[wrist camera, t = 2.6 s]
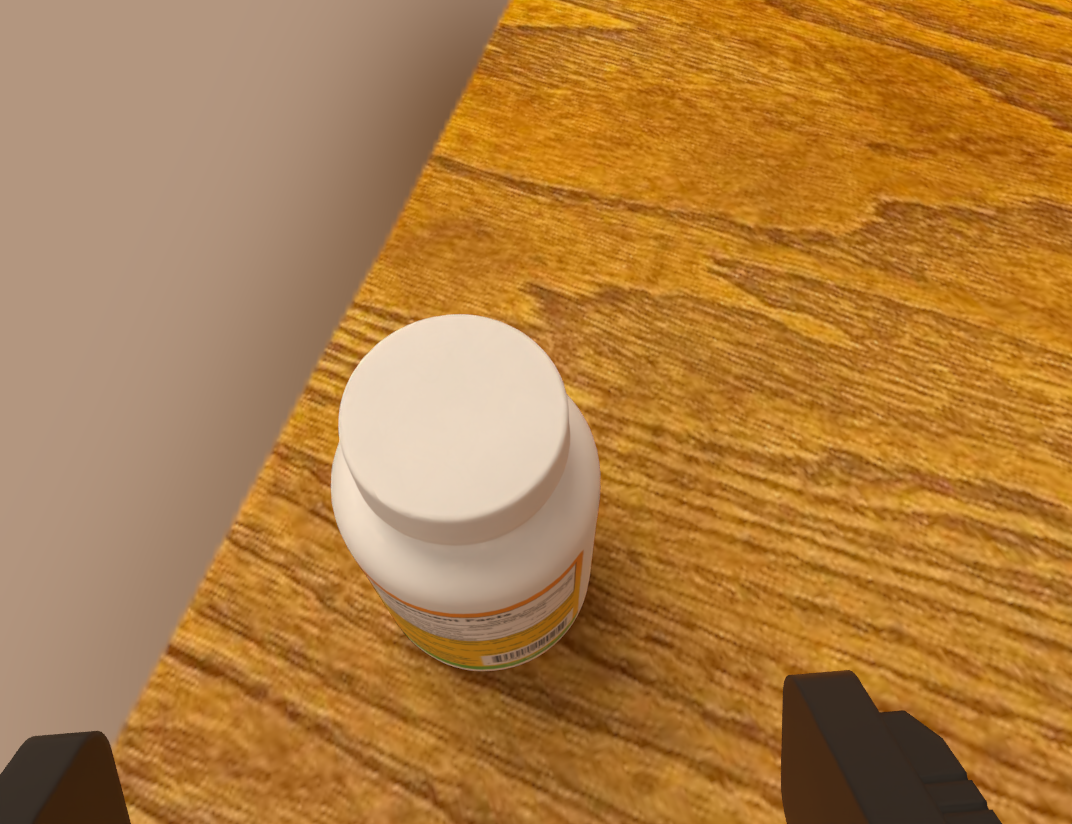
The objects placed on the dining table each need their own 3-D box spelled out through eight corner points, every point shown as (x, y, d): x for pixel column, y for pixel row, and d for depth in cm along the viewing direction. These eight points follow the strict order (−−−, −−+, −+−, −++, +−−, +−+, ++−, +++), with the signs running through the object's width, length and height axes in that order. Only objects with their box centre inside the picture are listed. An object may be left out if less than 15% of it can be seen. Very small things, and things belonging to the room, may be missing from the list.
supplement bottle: (435, 450, 26) (377, 243, 17) (617, 515, 25) (652, 331, 17) (350, 629, 24) (235, 495, 15) (545, 708, 23) (542, 613, 14)
